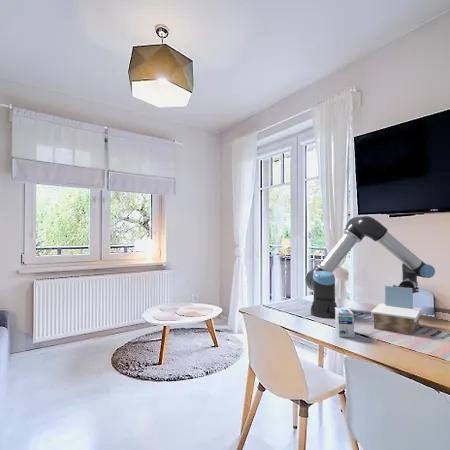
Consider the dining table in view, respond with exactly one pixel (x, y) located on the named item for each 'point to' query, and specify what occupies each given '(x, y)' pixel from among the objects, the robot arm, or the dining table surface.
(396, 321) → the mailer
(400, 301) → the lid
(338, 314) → the light bulb box
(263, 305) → the dining table surface
